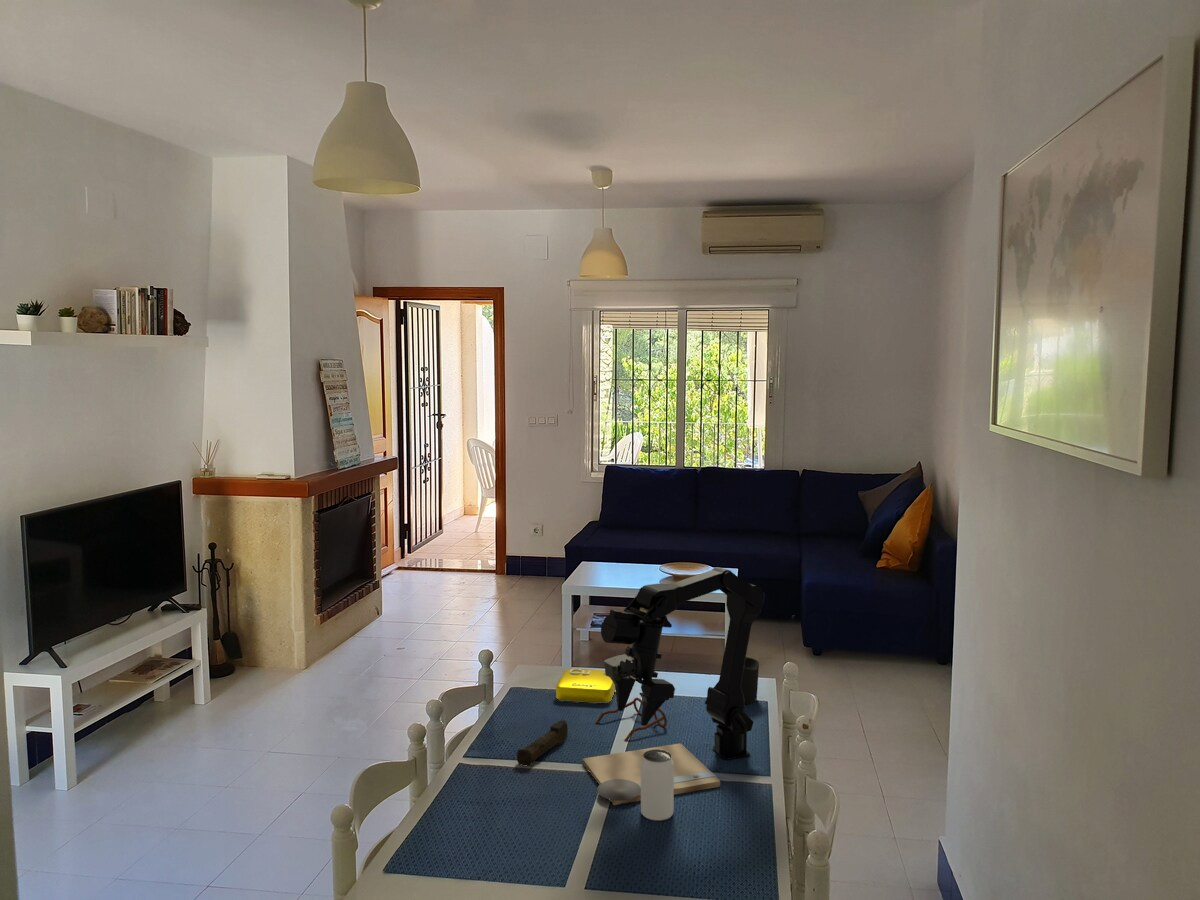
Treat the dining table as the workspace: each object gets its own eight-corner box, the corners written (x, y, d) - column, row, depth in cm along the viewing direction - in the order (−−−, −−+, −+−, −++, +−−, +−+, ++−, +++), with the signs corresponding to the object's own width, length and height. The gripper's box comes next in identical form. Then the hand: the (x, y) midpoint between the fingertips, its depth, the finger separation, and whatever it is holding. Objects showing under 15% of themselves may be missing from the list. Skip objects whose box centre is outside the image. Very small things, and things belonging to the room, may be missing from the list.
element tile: (554, 702, 235) (554, 685, 234) (565, 682, 250) (565, 666, 249) (610, 706, 232) (610, 688, 232) (618, 685, 247) (618, 669, 247)
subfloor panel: (680, 748, 205) (680, 742, 205) (722, 788, 186) (722, 782, 185) (574, 765, 197) (574, 759, 197) (605, 809, 177) (605, 802, 177)
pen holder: (718, 692, 240) (719, 657, 239) (752, 691, 241) (753, 655, 240) (727, 706, 231) (728, 668, 230) (762, 704, 232) (763, 667, 231)
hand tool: (530, 769, 195) (530, 749, 195) (516, 765, 197) (516, 745, 197) (576, 738, 211) (576, 720, 211) (562, 735, 214) (562, 716, 213)
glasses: (668, 730, 217) (668, 710, 216) (625, 743, 209) (625, 723, 209) (636, 713, 227) (636, 694, 227) (594, 724, 220) (594, 705, 220)
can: (663, 825, 171) (664, 765, 170) (634, 816, 174) (634, 757, 173) (679, 810, 176) (679, 753, 175) (650, 802, 180) (650, 745, 179)
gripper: (591, 631, 192) (577, 702, 192) (638, 655, 176) (623, 733, 176) (633, 635, 198) (620, 704, 198) (682, 658, 182) (668, 733, 182)
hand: (631, 717), depth 188 cm, fingers open, 9 cm apart
